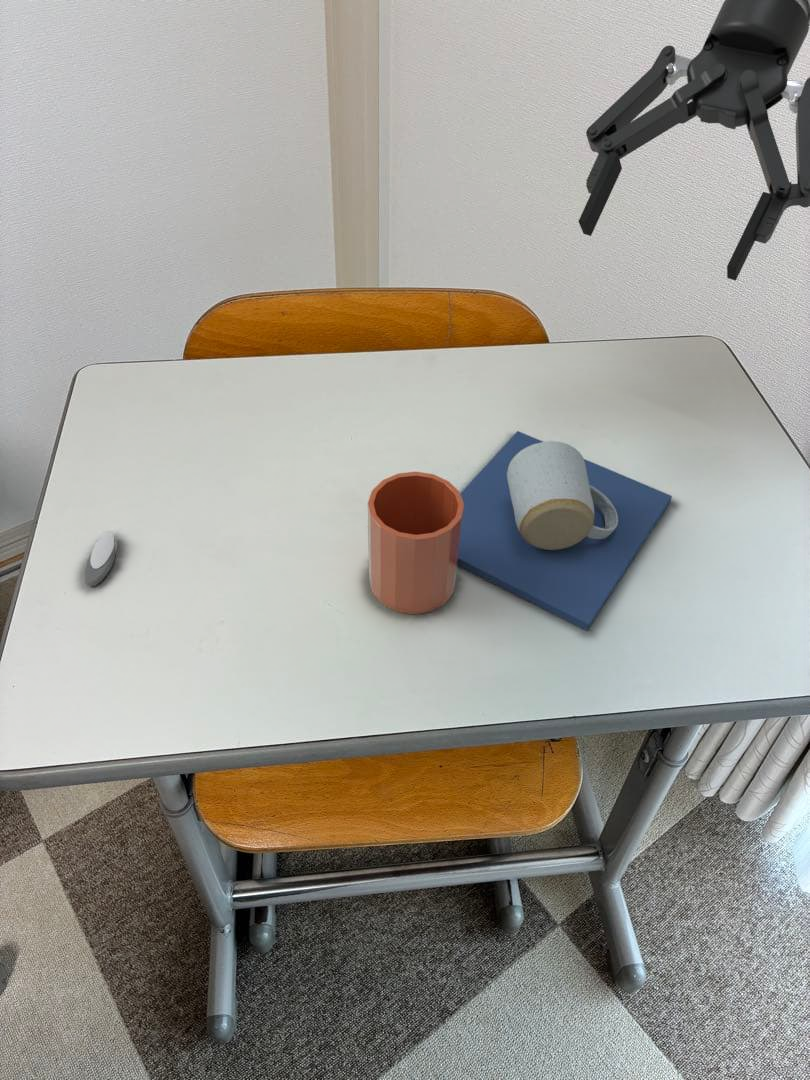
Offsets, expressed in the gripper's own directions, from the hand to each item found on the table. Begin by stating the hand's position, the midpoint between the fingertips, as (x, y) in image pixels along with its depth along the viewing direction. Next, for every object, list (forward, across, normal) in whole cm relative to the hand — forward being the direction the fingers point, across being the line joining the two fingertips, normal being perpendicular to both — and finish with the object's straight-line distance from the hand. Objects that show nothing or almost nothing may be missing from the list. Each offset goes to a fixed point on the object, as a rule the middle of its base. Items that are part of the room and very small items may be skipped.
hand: (655, 250), depth 70 cm
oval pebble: (+46, +32, +13) cm, 58 cm away
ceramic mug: (+25, -1, -7) cm, 26 cm away
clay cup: (+36, +7, +2) cm, 36 cm away
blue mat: (+26, 0, -8) cm, 27 cm away
